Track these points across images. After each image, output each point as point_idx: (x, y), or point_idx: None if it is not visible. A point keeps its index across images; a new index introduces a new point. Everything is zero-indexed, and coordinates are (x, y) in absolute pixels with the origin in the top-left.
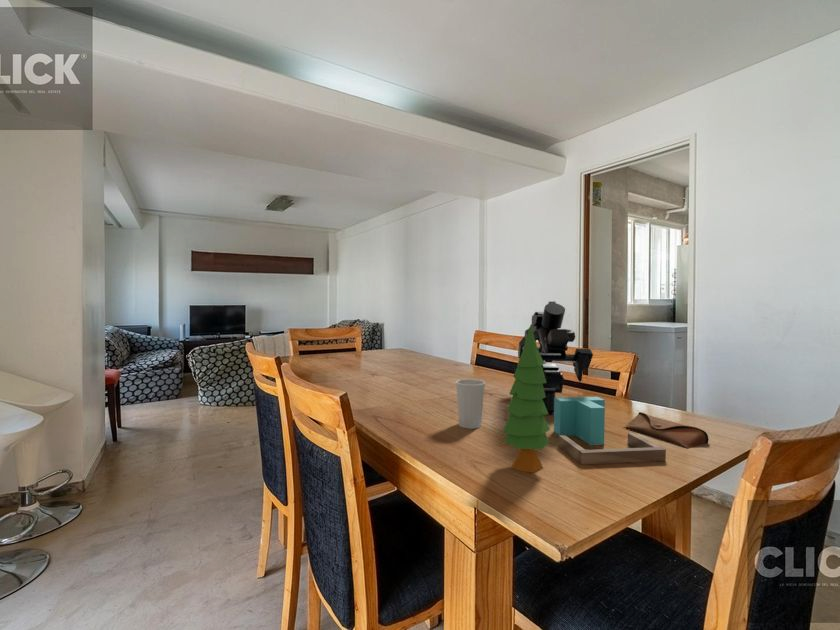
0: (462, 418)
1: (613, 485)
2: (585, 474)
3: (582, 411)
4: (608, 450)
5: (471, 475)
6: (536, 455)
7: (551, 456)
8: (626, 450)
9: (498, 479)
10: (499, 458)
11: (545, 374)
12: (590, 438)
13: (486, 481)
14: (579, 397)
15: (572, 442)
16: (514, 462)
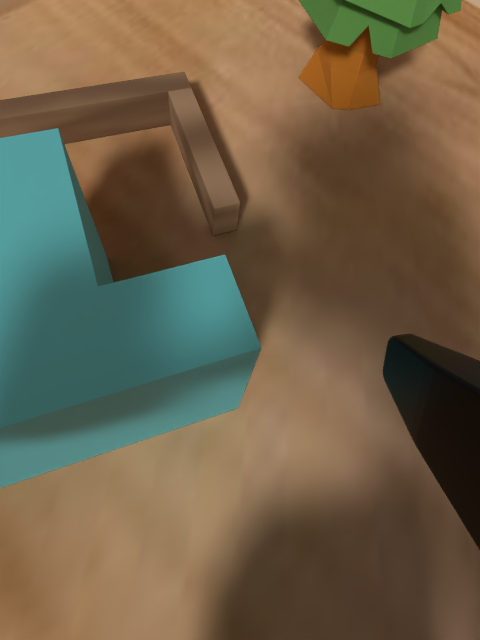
0: None
1: (137, 22)
2: (190, 59)
3: (91, 242)
4: (87, 95)
5: (458, 34)
6: (325, 40)
7: (270, 145)
8: (19, 100)
9: None
10: (420, 115)
11: (436, 357)
12: (100, 240)
13: None
14: (31, 402)
15: (198, 142)
16: (376, 68)
